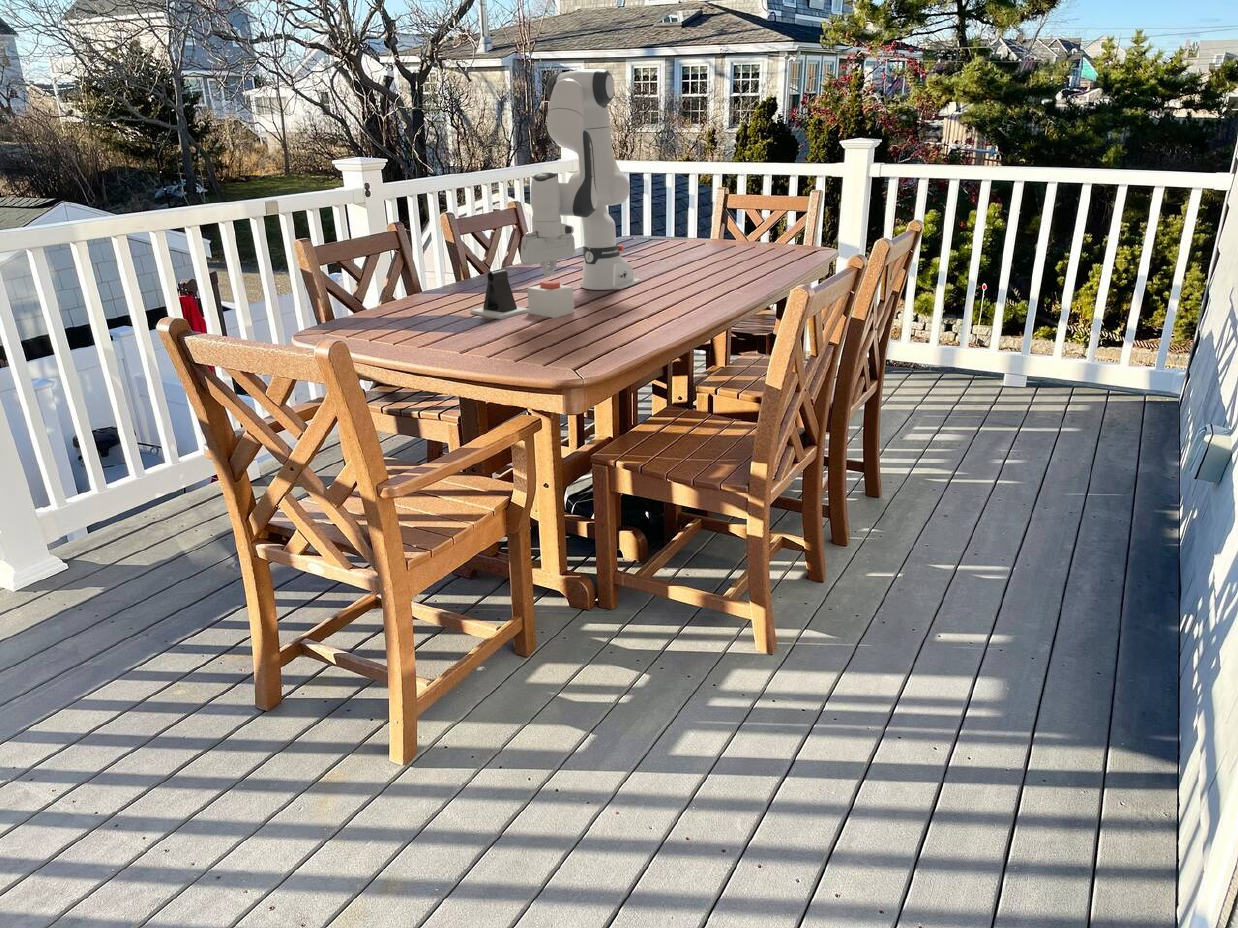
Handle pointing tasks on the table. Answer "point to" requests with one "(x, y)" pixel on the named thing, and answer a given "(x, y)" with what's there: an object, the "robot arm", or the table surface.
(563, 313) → the box
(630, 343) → the table surface
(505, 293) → the phone stand
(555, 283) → the button
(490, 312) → the grey mat
